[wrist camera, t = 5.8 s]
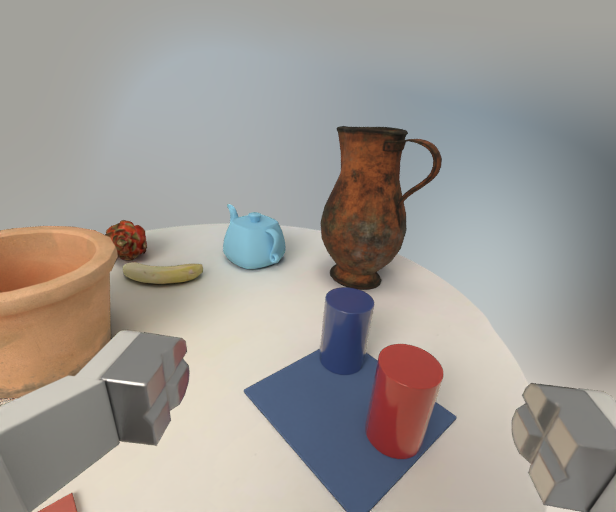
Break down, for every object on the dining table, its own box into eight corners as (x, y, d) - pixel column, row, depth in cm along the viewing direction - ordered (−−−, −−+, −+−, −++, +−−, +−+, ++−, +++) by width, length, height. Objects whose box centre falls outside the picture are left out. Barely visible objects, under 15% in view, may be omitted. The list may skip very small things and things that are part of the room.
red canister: (433, 437, 39) (455, 368, 35) (400, 471, 35) (420, 399, 31) (387, 400, 43) (402, 336, 39) (353, 428, 39) (365, 359, 35)
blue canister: (373, 362, 50) (384, 302, 45) (342, 382, 46) (351, 319, 41) (340, 338, 54) (348, 282, 50) (310, 355, 50) (315, 296, 46)
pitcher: (346, 253, 84) (363, 121, 71) (428, 288, 71) (467, 135, 59) (298, 274, 73) (308, 121, 60) (385, 319, 60) (421, 138, 47)
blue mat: (456, 419, 42) (456, 416, 42) (357, 524, 31) (357, 521, 31) (342, 338, 55) (343, 336, 54) (243, 391, 44) (243, 389, 43)
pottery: (5, 307, 56) (-25, 223, 50) (149, 307, 59) (138, 227, 52) (-133, 424, 36) (-210, 308, 30) (93, 414, 39) (64, 307, 33)
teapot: (249, 198, 84) (302, 218, 73) (249, 238, 88) (299, 263, 77) (202, 206, 75) (254, 230, 64) (205, 251, 80) (254, 281, 69)
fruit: (190, 292, 64) (188, 276, 62) (111, 282, 65) (108, 267, 63) (204, 274, 70) (203, 259, 69) (133, 266, 71) (131, 251, 70)
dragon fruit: (133, 276, 71) (120, 261, 80) (164, 245, 73) (148, 235, 82) (98, 248, 65) (88, 236, 74) (132, 217, 68) (119, 209, 77)
